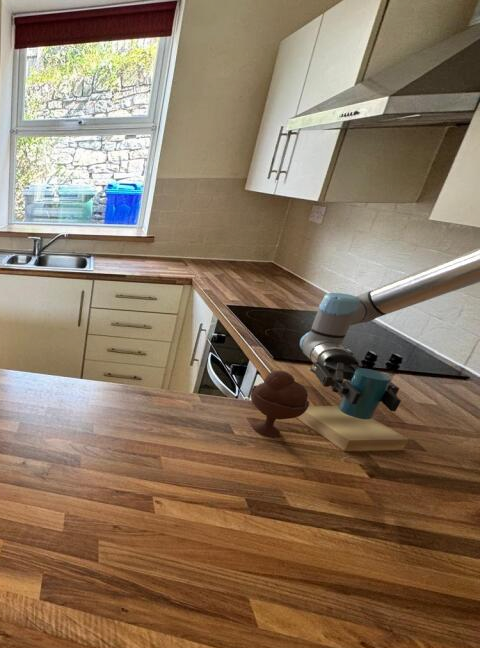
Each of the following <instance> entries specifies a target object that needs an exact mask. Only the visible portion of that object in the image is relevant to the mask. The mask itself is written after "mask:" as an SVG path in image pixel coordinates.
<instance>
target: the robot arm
mask: <svg viewBox="0 0 480 648" xmlns="http://www.w3.org/2000/svg"><path fill="white" fill-rule="evenodd" d="M479 283H480V246H479V247H477V248H474V249H472V250H469V251H467V252H464V253H462V254H459V255H457V256H454V257H452V258H449V259H447V260H444V261H442V262H440V263H437V264H434V265H433V266H430V267H427V268H424V269H422V270H419V271H417V272H414V273H412V274H409V275H406V276H404V277H402V278H399V279H397V280H394V281H392V282H389V283H386V284H384V285H382V286H380V287H377V288H374V289H372V290H369V291H366V292H364V293H361V294H359V295H352V294H349V293H342V292H328V293H326V294H325V295H324V296H323V298H322V300H321V302H320V304H319V305H318V310H317V312H316V315H315V318H314V320H313V323H312V326H311V327H310V330H309V332H306V333H305V334H304V335H302V337H301V338H300V340H299V347H300V349H301V351H302V353H303V355H305V356H306V357H307V358H308V359H309V360H310V361H311V362H312V365H311V367H310V370H309V371H310V372H312V373H313V374H314V375H315V376H316V378H317V379H318V381H319V382H320V384H321V385H322V386H323V387H325V388H329V387H332V388H331V392H333V393H339V394H342V395H343V396H345V397H346V398H347V399H348V400H349V402H350V403H351V404H355V405H356V404H357V401H358V399H359V397H360V395H361V393H360V392H359V391H358V390H357V389H356V388H355V387H354V386H353V385H352V384H351V383H350V381H351V379H352V377H353V374H354V372H355V370H356V369H359V368H361V367H360V363H359V361H358V358H356V357H355V355H353V354H352V353H351V352H350V351H348V349H346V348H345V347H343V346H342V344H343V342H344V339H345V338H346V336H347V333H348V331H349V329H350V326H353V325H354V326H355V325H358V324H364V323H368V322H371V321H374V320H375V319H377V318H381V317H383V316H386V315H389V314H391V313H394V312H397V311H400V310H402V309H405V308H406V309H407V308H409V307H412V306H415V305H418V304H421V303H423V302H426V301H429V300H432V299H435V298H438V297H441V296H444V295H446V294H447V295H448V294H449V293H452V292H455V291H459V290H461V289H464V288H467V287H470V286H472V285H475V284H479ZM399 390H400V387H399V386H397V385H396V384H394V383H393V381H391V382H390V384H389V386H388V388H387V390H386V392H385V394H384V396H383V398H382V400H381V402H380V403H382V404H383V405H384V406H385V407H386V408H387V409H388V410H389V411H390V412H397V410H398V407H399V406H400V404H401V402H402V400H401V399H400V398H398V396H397V394H398V393H399Z"/></svg>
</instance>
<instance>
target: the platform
mask: <svg viewBox="0 0 480 648" xmlns="http://www.w3.org/2000/svg"><path fill="white" fill-rule="evenodd" d="M338 407H339V405H309V406H308V409H307V410H306V411H305V412H304V413H303V414H302V415H300V416H299V417H295V418H296V420H299V421H300V422H301V423H303V424H304V425H306V426H307V427H309V428H310V429H311V430H313V431H314V432H316V434H319V435H320V436H322V437H323V438H325V439H326V440H327V441H329V442H330V443H332V444H333V445H335V446H336V447H337V448H339V449H340V450H342V451H343V452H368V451H371V452H372V451H373V452H375V451H377V452H378V451H404V449H405V447H406V445H407V444H408V442H409V440H410V439H409V438H408V437H405V436H404V435H402V434H400V433H398V432H397V431H395V430H394V429H392V428H390V427H388V426H386V425H385V424H383V423H382V422H380V421H377V420H376V419H374V418H372V419H359V418H355V417H352V416H349V415H347V414H345V413H343V412H342V411H340V410H339V408H338Z"/></svg>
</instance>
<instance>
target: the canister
mask: <svg viewBox="0 0 480 648" xmlns="http://www.w3.org/2000/svg"><path fill="white" fill-rule="evenodd" d="M392 380H393V377H391V376H390V375H389V374H386V373H384V372H381V371H379V370H374V369H370V368H362V367H360V368H359V369H356V370H355V372H354V374H353V377H352V379H351V381H349V382H350V383H351V384H352V385H353V386H354V387H355V388H356V389H357V390H358V391H359V392H360V393H361V395H360V397H359V399H358V401H357V404H356V405H355V404H351V403H350V402H349V400H348V399H347V398H346V397H345V396H344V395H343V396H342V398H341V401H340V403H339V405H338V406H339V407H338V408H339V410H340V411H342V412H343V413H345V414H347V415H349V416H352V417H355V418H359V419H374V416H375V414H376V412H377V410H378V408H379V406H380V404H381V403H382V402H381V400H382V398H383V396H384V394H385V392H386V390H387V388H388V386H389V384H390V382H392Z"/></svg>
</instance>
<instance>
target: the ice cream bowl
mask: <svg viewBox="0 0 480 648" xmlns="http://www.w3.org/2000/svg"><path fill="white" fill-rule="evenodd" d="M308 397H309V394H308V391H307V389H306V387H305V386H304V385H303V384H301V383H299V382H298V381H296V379H295V377H294V376H293V375H292V374H291V373H289V372H287V371H285V370H274V371H270V372H269V373H267V375H266V376H265V378H264V380H263V382H261V383H259V384H255V385H253V386H252V389H251V390H250V400H251V402H252V405H254V407H255V408H256V409H257V410H258V411H259V412H261V414H262V415H264V416H265V421H264V422H255V423H254V424H253V425H252V429H253V430H254V431H255V432H256V433H258V434H260V435H262V436H265V437H268V438H272V439H273V438H279V437H280V436H281V431H280V430H279V428H277V427H276V426H275V421H276V420H281V421H282V420H290V419H291V420H292V419H295V418H296V417H299V416H300V415H302V414H303V413H304V412H305V411H306V410H307V409H308V406H310V401H309V400H308Z"/></svg>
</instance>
